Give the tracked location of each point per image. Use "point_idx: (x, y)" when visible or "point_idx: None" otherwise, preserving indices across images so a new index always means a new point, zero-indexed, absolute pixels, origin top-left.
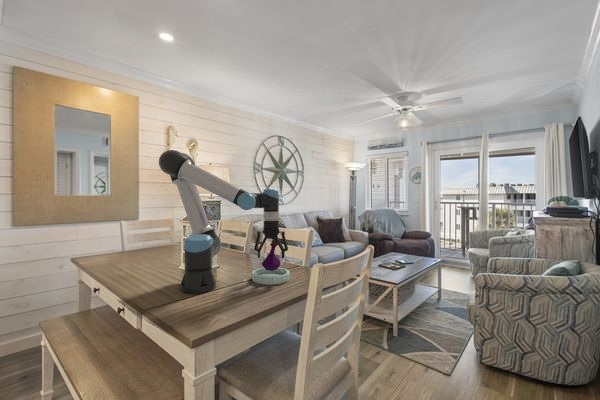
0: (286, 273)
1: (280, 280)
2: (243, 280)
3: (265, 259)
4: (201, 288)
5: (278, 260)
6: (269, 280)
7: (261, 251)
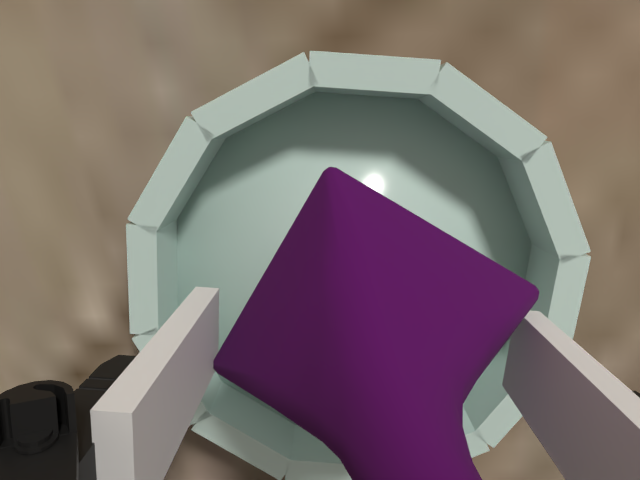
0: None
1: None
2: (86, 322)
3: (268, 403)
4: None
5: (499, 347)
6: None
7: (123, 472)
